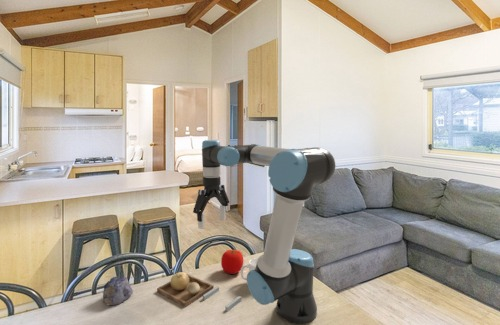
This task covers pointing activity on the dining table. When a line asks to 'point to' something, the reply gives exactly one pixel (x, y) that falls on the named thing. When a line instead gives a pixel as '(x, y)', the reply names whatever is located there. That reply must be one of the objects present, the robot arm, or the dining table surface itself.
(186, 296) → the tray
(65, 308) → the dining table surface
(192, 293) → the ball
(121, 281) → the rock
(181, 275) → the onion
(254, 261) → the cup
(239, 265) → the tomato
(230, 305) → the cradle
